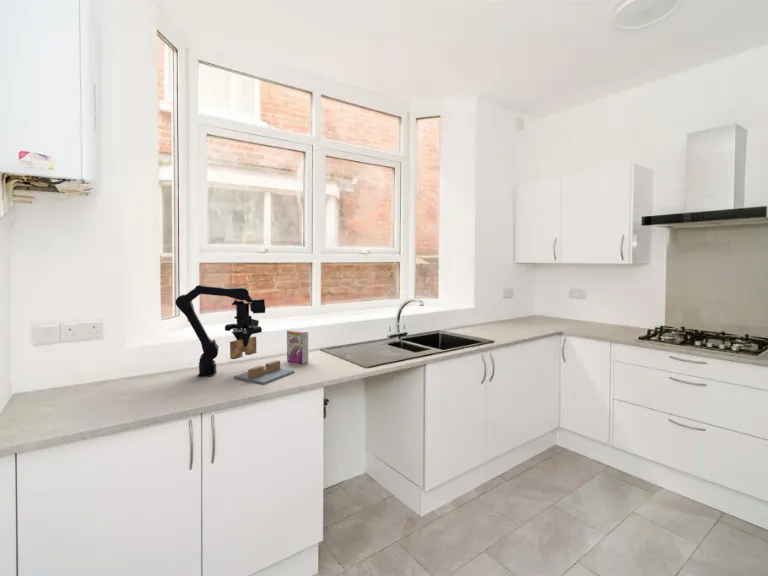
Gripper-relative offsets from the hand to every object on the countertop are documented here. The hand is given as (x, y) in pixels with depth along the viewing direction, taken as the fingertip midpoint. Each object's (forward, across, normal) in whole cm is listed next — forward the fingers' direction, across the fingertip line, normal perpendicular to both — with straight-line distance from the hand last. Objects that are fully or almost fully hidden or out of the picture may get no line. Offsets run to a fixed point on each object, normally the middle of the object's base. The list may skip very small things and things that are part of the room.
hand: (243, 346), depth 192 cm
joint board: (+12, -13, 0) cm, 18 cm away
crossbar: (+5, 0, 0) cm, 5 cm away
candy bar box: (+12, -11, -26) cm, 31 cm away
